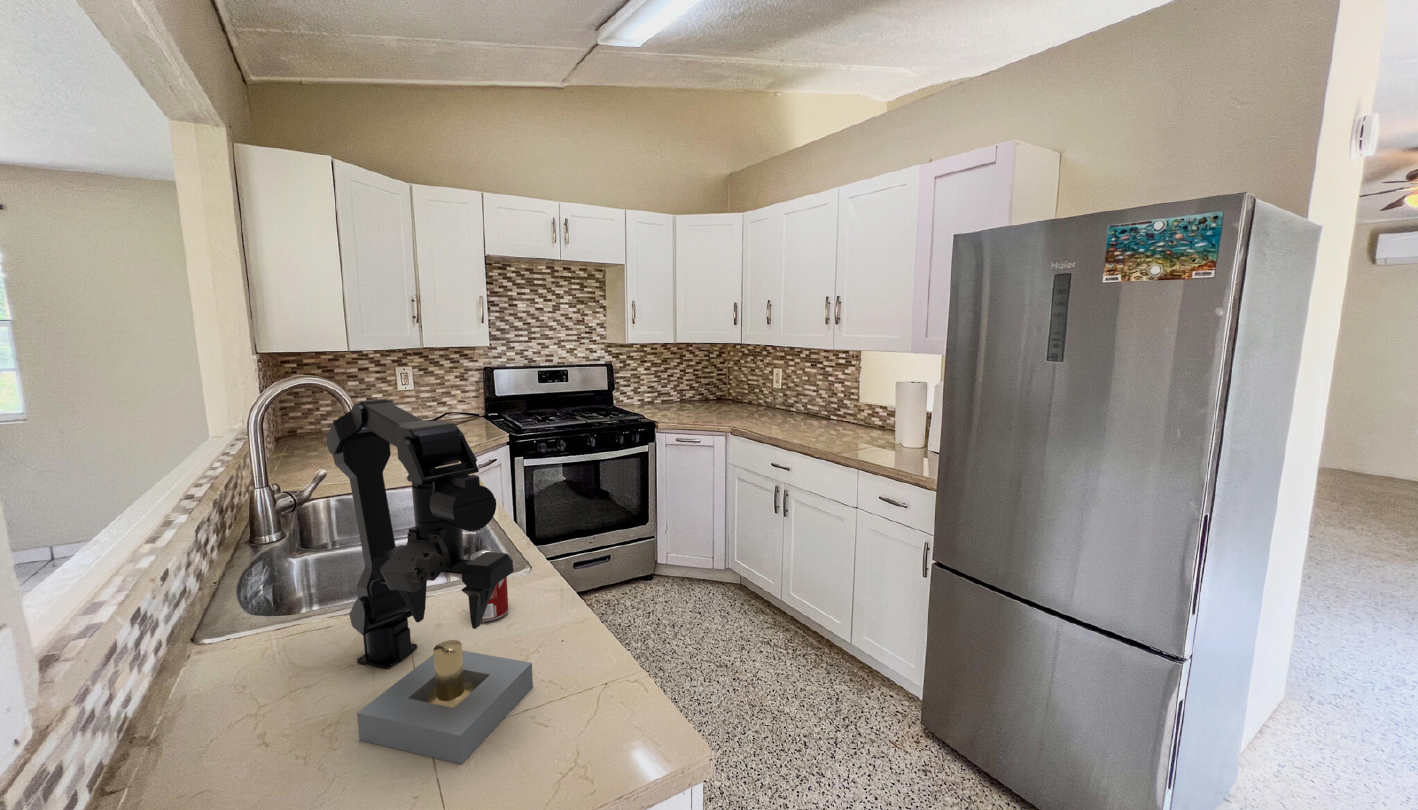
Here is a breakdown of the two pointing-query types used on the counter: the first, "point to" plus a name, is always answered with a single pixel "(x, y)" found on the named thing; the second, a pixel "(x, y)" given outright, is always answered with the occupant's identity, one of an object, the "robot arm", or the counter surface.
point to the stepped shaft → (449, 675)
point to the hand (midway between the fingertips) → (447, 624)
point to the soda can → (495, 596)
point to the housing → (445, 708)
